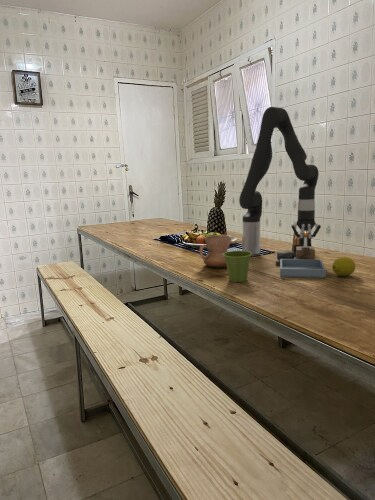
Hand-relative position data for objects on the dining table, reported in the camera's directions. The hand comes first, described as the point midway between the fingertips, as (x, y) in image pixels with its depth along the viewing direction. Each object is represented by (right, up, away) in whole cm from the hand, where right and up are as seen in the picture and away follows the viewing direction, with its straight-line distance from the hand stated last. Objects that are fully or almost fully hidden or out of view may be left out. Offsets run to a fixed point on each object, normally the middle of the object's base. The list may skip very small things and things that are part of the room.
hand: (305, 245), depth 179 cm
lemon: (+8, -13, -22) cm, 27 cm away
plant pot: (-35, -15, -22) cm, 44 cm away
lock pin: (0, -6, +1) cm, 6 cm away
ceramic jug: (-41, -10, +3) cm, 42 cm away
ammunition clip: (+4, -4, +21) cm, 22 cm away
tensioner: (-4, -8, +3) cm, 9 cm away
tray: (-6, -12, -14) cm, 19 cm away
